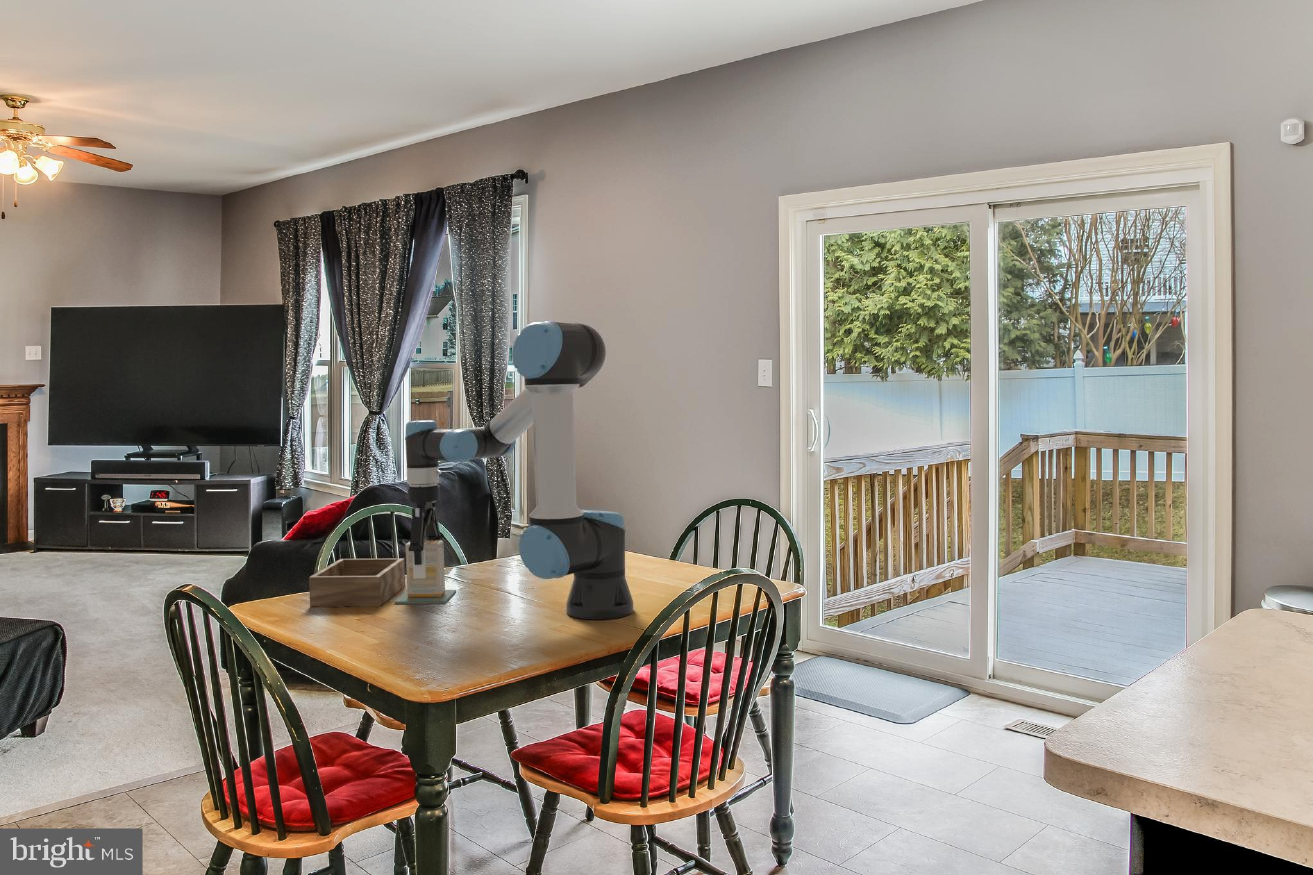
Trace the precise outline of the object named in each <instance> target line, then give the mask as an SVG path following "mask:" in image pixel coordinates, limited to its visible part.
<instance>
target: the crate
mask: <svg viewBox="0 0 1313 875" xmlns="http://www.w3.org/2000/svg"><path fill="white" fill-rule="evenodd" d="M405 564H406V557H404V558H403V557H402V558H394V557H393V558H390V557H389V558H340V559H338V560H336V561H335V562H333V563H331V564H329V565H328V566H326V567H324V568H322V569H320V570H319V571H317V572H315V573H313V574H312V575H310V576H309V577H308V582H309V583H308V585H309V586H308V587H309V591H308V592H309V607H310V606H329V608H330V606H332V607H331V608H335V607H334V606H354V607H355V606H357V607H358V606H359V607H360V608H361V607H366V608H367V607H381V606H382V605H384V604H385V603H386V602H387V601H389V600H390V599H391V598H392V597H393V596H394V595H395V594H397V593H398V592H399V591H400V590H402V589H403V588H404V587H405V586H406V567H405V566H406V565H405ZM359 607H358V608H359Z"/></svg>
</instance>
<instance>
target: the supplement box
mask: <svg viewBox="0 0 1313 875" xmlns="http://www.w3.org/2000/svg"><path fill="white" fill-rule="evenodd" d="M409 546H410V541H408V542H407V543H406V544H405V564H406V565H405V566H406V567H405V570H406V586H407V588H406V591H407V593H408V597H441V596H442V595H443V594H444V593H445V590H446V581H445V580H446V578H445V556H444V555H445V553H444V552H445V551H444V540H436V541H430V540H425V541H424V549H423V550H425V571H426V578H414V579H413V553H412V551H409V549H408V548H409Z"/></svg>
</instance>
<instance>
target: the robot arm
mask: <svg viewBox="0 0 1313 875" xmlns="http://www.w3.org/2000/svg"><path fill="white" fill-rule="evenodd" d="M511 352H512V353H511V355H512V356H511V357H512V363H513V366H514V368H515V369H516V372H517V373H518V374H519V375H521V376H522V377H523V378H524V389H523V390H522V391H521V392H519V394H518V395H517V396H515V397H514V398H513V399H512V401H510V402H509V403H508V404H507V405H506V406H505V407H504V408H502V410H501V411H499V413H497V414H496V415H495V416H494V417H493V418H492V419H490V421H489V422H487V423H486V424H485V425H484V426H481V427H480V426H479V427H467V428H465V427H464V428H451V429H450V428H449V429H448V428H447V429H444V428H443V429H439V427H438V423H437V421H436V420H412V421H407V423H406V424H405V435H404V436H405V438H404V441H405V455H406V456H405V457H406V458H405V459H406V483H407V484H408V485H409V486H408V487H407V488H406V490H407V501H408V502H410V503H415V504H416V505H415V507H412V508H411V527H410V538H409V539H410V540H409V542H410V546H409V548H408V549H409V551H412V553H413V579H414V578H426V571H425V550H423V549H424V541H426V539H425V538H427V541H442V535H441V532H440V526H439V525H440V524H439V521H438V520H439V519H438V514H437V503H436V502H438V501H439V500H440V499H441V493H440V492H441V491H440V489H441V488H440V485H439V484H438V483H440V476H439V475H441V474H442V471H441V470H439V468H440V467H439V466H440V463H439V462H449V463H450V462H452V463H455V464H456V463H457V464H458V463H465V462H469V461H471V460H477V459H488V458H489V459H490V458H502V457H504V456H508V455H510V454H511V453H512V452H513V451H514V450H515V446H516V444H517V443H516V441H517V439H519V437H521V436H522V435H523V434H524V433H525V432H527V430H528V429H530V428H531V427H532V426H533V452H534V453H533V454H534V478H535V479H534V482H535V485H534V486H535V508H534V509H533V510H532V511H531V512H530V513H529V514H528V516H529V518H528V519H529V526H528V527H527V528H526V529H524V530H523V532H522V534H521V535H520V536H519V539H518V540H519V541H518V552H519V555H520V559H521V561H522V563H523V565H524V566H525V568H527V569H528V571H529V572H530V574H532V575H533V576H535V577H537V578H539V579H543V580H551V579H562V578H564V577H565V576H569V575H573V581H572V584H571V587H570V590H569V593H568V596H567V600H566V604H565V605H566V606H565V607H566V614H567V615H568V616H570V617H573V618H578V619H582V620H610V619H611V620H612V619H618V618H623V617H627V616H629V615H631V614H632V613H634V600H633V596H632V594H631V590H630V588H629V587H630V586H629V584H628V582H627V579H626V527H625V525H626V524H625V518H624V516H623V514H621V513H620V512H616V511H606V510H597V509H596V510H595V509H580V507H578V505H577V486H576V485H577V483H576V476H577V475H576V452H575V451H576V449H575V419H574V417H575V416H574V415H575V414H574V393H575V391H576V390H577V389H581V388H583V387H585V385H587V384H588V383H589V382H590V381H591V380H593V378H595V376H597V374H598V373H599V372H600V371H601V369H602V367H603V365H604V364H605V360H606V354H607V352H606V344H605V342H604V339H603V337H602V336H601V335H600V333H599V332H598V331H597V330H596V329H595V328H593V327H592V326H590V325H588V324H584V323H575V322H574V323H572V322H571V323H570V322H558V321H557V322H556V321H547V320H546V321H538V322H537V321H536V322H532V323H530V324H527V325H525V326H524V327H523V328H522V329H521V330H520V333H518V334H517V335H516V338H515V340H514V343H513V345H512V350H511Z"/></svg>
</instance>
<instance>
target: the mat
mask: <svg viewBox="0 0 1313 875" xmlns="http://www.w3.org/2000/svg"><path fill="white" fill-rule="evenodd" d="M456 593H457V589H445V593H444V594H443V595H442V596H441V597H408V593H407V590H406V591H404V592H403V593H402V595H400V596H399V597H398V598H397V599H396V600H395V601H394V605H421V604H422V605H426V604H427V605H431V604H432V605H435V604H436V605H437V604H439V605H442V604H444V605H446V604H447V603H448V601H450V599H451V598H452V597H453V596H454V595H455V594H456Z"/></svg>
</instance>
